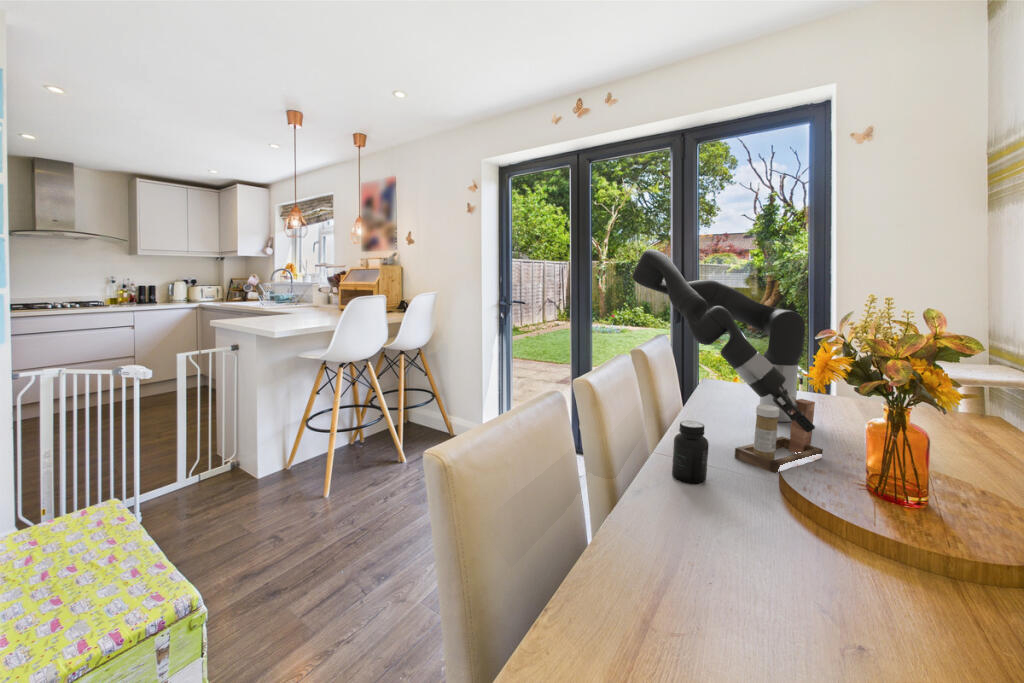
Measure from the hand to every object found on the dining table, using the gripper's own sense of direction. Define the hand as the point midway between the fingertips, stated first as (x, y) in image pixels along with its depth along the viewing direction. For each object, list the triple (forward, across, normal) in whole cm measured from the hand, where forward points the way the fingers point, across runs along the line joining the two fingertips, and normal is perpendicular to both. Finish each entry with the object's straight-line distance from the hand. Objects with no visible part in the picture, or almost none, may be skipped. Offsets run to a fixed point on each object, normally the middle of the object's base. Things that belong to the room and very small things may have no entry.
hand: (809, 424), depth 109 cm
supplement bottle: (-12, +29, -22) cm, 38 cm away
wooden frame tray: (+1, +7, -10) cm, 12 cm away
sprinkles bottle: (-2, +12, -12) cm, 17 cm away
